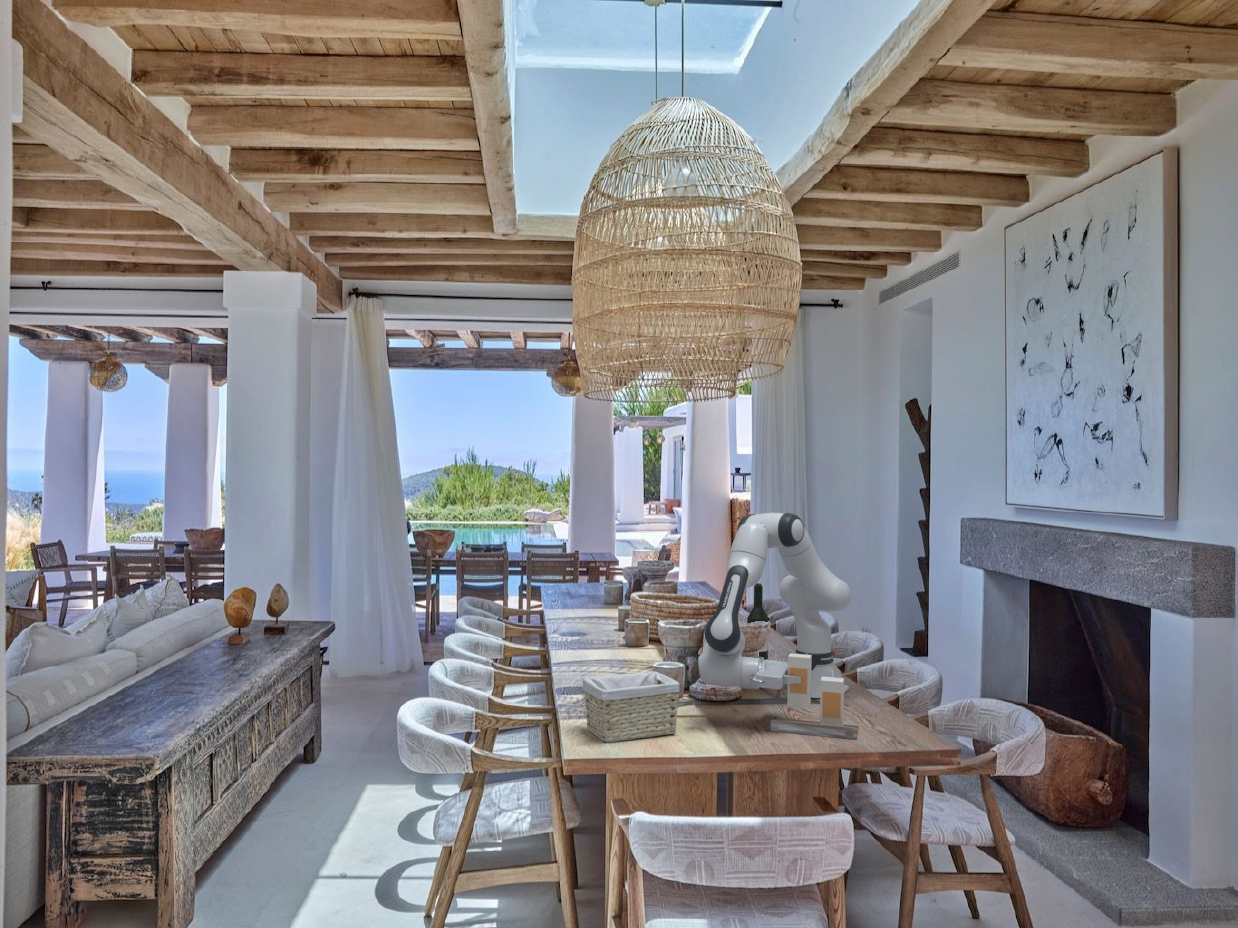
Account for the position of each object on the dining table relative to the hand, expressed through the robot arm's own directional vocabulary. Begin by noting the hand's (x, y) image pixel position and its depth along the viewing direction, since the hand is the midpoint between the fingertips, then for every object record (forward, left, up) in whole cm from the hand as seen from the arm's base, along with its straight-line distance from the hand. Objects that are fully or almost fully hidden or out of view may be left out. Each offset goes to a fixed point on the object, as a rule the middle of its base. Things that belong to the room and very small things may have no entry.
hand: (802, 677), depth 245 cm
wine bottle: (-79, -57, -16) cm, 98 cm away
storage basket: (+31, -37, -16) cm, 51 cm away
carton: (-3, +8, -14) cm, 16 cm away
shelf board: (-1, +3, -15) cm, 16 cm away
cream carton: (0, -1, -8) cm, 8 cm away
